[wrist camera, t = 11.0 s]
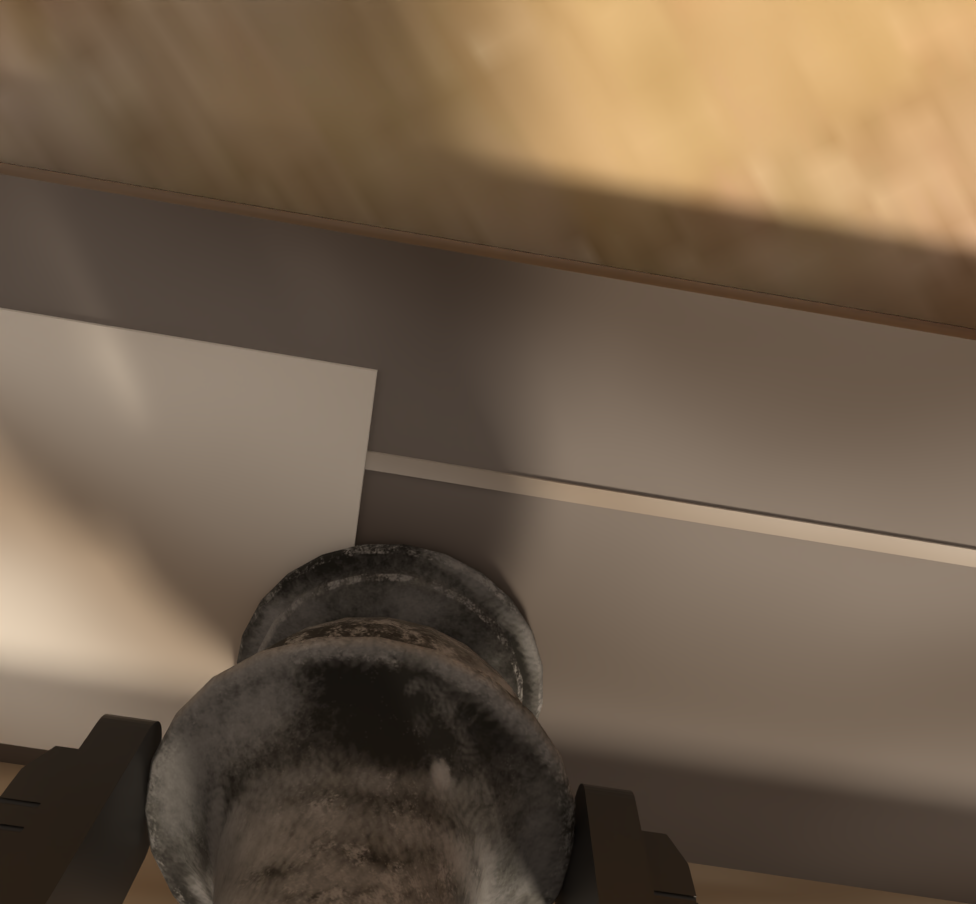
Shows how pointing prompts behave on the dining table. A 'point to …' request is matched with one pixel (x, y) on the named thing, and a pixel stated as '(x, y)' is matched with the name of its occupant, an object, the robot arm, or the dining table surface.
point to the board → (507, 510)
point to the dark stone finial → (367, 748)
